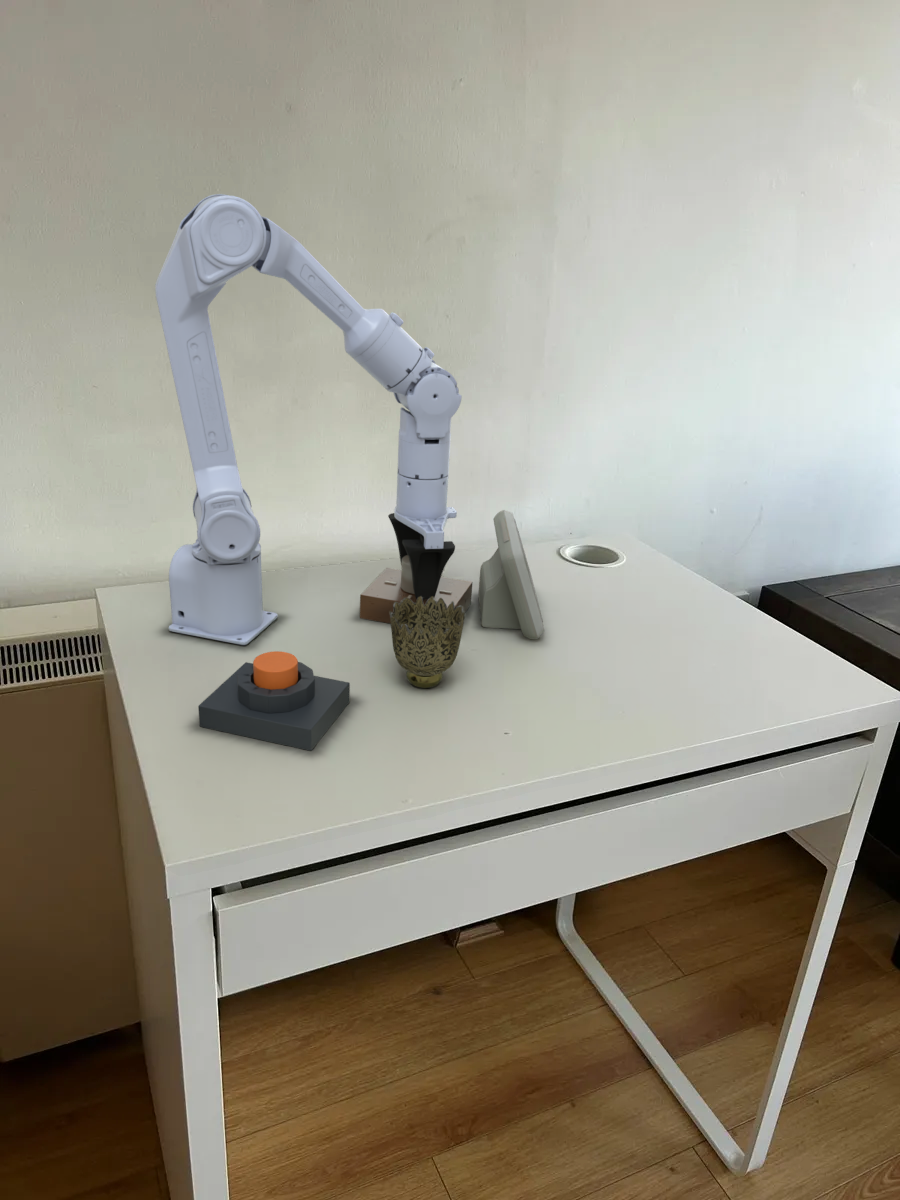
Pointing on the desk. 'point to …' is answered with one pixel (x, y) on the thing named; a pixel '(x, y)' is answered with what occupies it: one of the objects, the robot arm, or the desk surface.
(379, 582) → the dial panel
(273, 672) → the orange button cap
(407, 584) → the dial
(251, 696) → the button base
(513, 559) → the digital clock
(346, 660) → the desk surface
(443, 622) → the cup
